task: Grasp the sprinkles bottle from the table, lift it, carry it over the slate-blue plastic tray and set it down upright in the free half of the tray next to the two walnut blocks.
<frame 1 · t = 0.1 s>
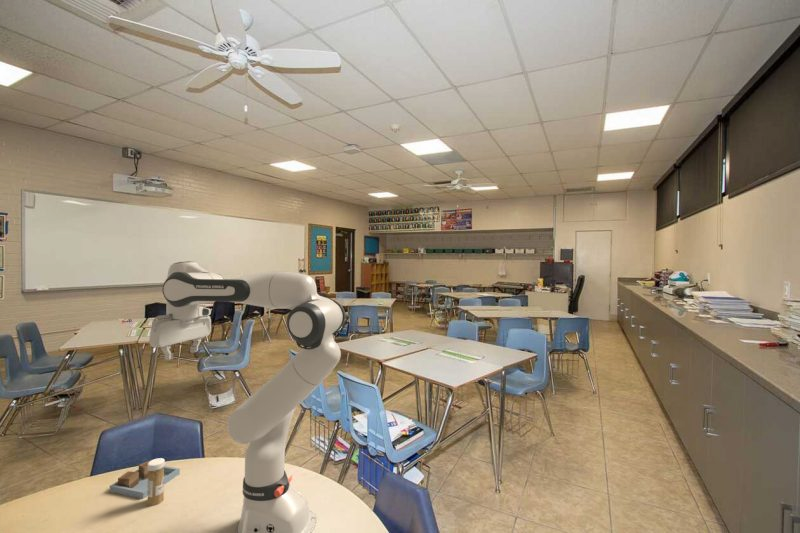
hand: (182, 355, 111), 48 cm above the table, fingers open, 8 cm apart
walnut block A: (128, 486, 119), point 1 cm above the table, touching tray
sprinkles bottle: (155, 503, 112), on the table
tray: (146, 484, 121), on the table
walnut block B: (147, 475, 125), point 1 cm above the table, touching tray
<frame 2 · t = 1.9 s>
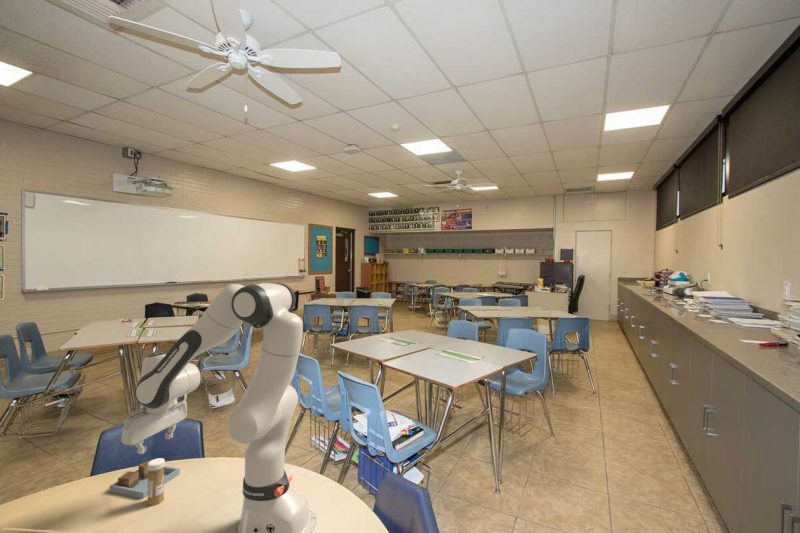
hand: (155, 445, 112), 19 cm above the table, fingers open, 8 cm apart
nothing on the table moved.
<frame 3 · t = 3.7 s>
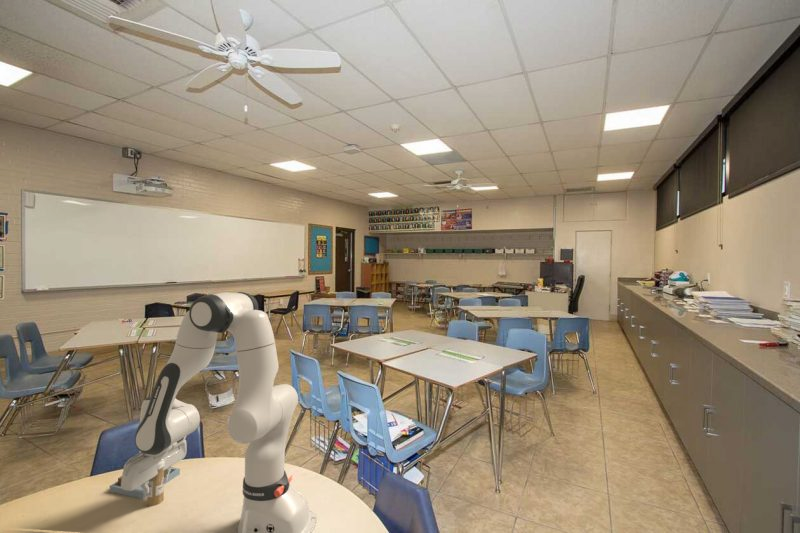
hand: (155, 487, 112), 5 cm above the table, fingers closed on sprinkles bottle, 4 cm apart
sprinkles bottle: (155, 503, 112), on the table, touching gripper
everything else where it was.
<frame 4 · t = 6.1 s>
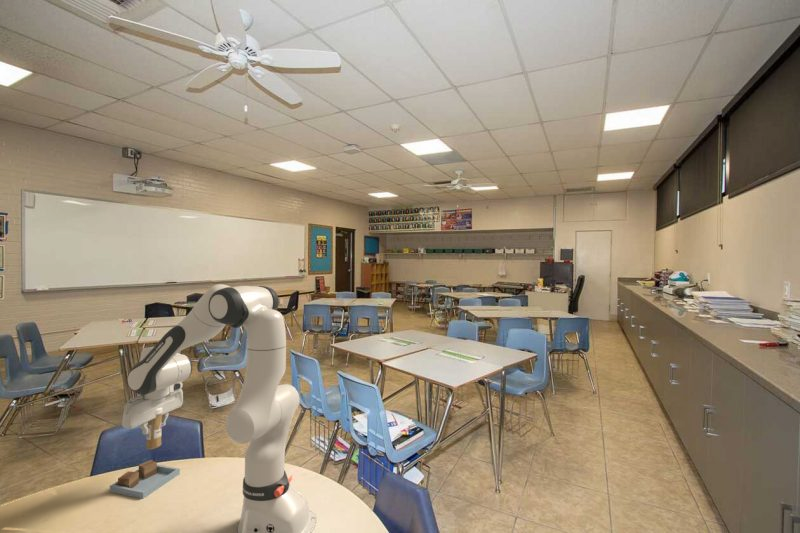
hand: (154, 429, 121), 19 cm above the table, fingers closed on sprinkles bottle, 4 cm apart
sprinkles bottle: (153, 447, 121), point 13 cm above the table, touching gripper
everything else where it was.
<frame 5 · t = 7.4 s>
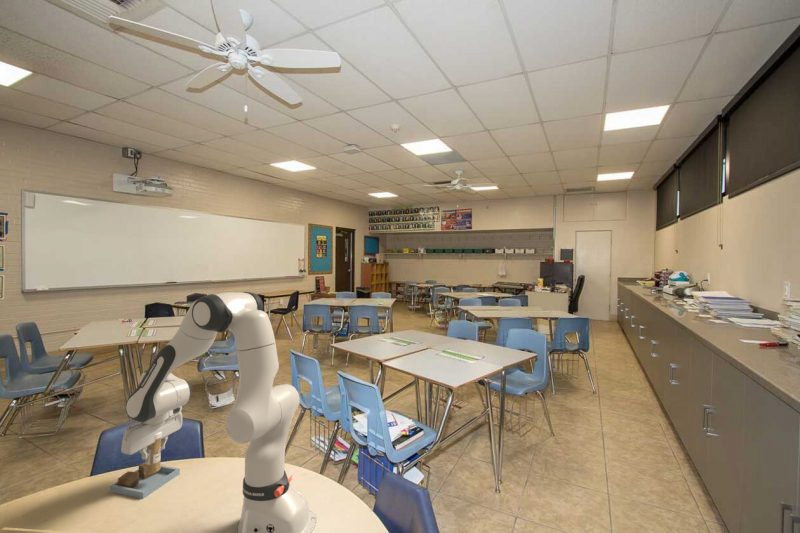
hand: (153, 453, 121), 11 cm above the table, fingers closed on sprinkles bottle, 4 cm apart
sprinkles bottle: (152, 471, 121), point 5 cm above the table, touching gripper
everything else where it was.
when the fingers open (7 cm above the table, at t = 8.5 s): sprinkles bottle stays where it is, resting on tray.
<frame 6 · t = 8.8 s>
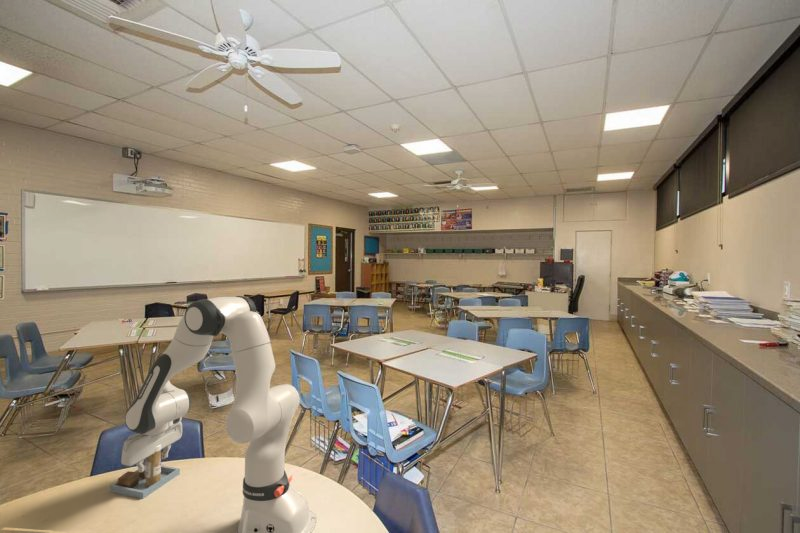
hand: (153, 464, 121), 7 cm above the table, fingers open, 7 cm apart
sprinkles bottle: (153, 484, 121), resting on tray
everything else where it was.
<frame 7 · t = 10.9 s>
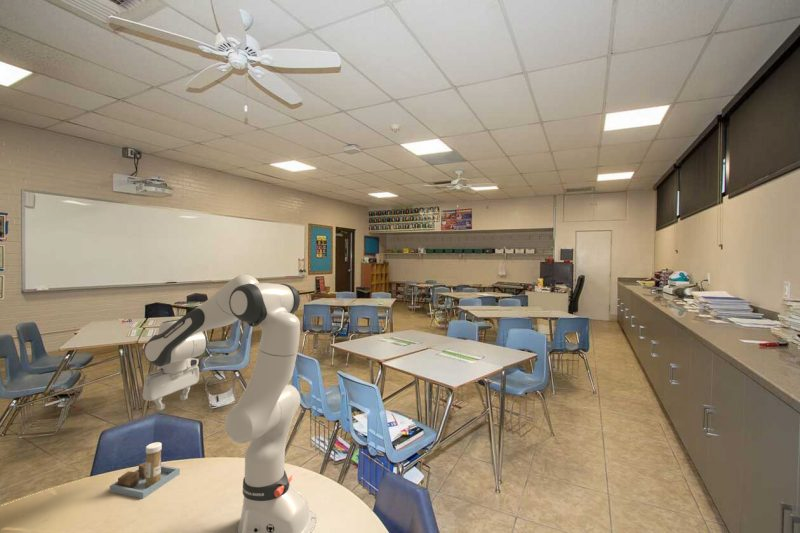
hand: (172, 404, 123), 27 cm above the table, fingers open, 8 cm apart
nothing on the table moved.
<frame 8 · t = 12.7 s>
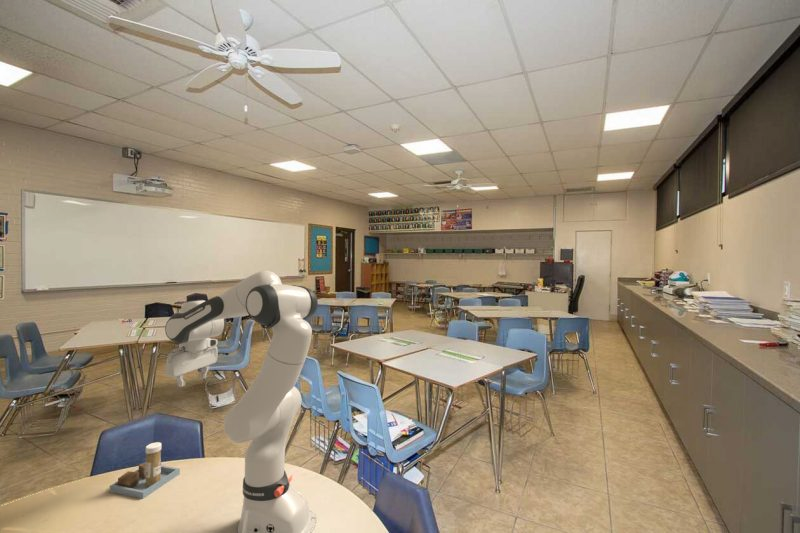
hand: (192, 382, 127), 34 cm above the table, fingers open, 8 cm apart
nothing on the table moved.
at the end: sprinkles bottle inside the target area on the tray (3.0 cm from its centre), point 0.4 cm above the tray's base; sprinkles bottle tilted 0°; the gripper is holding nothing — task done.
